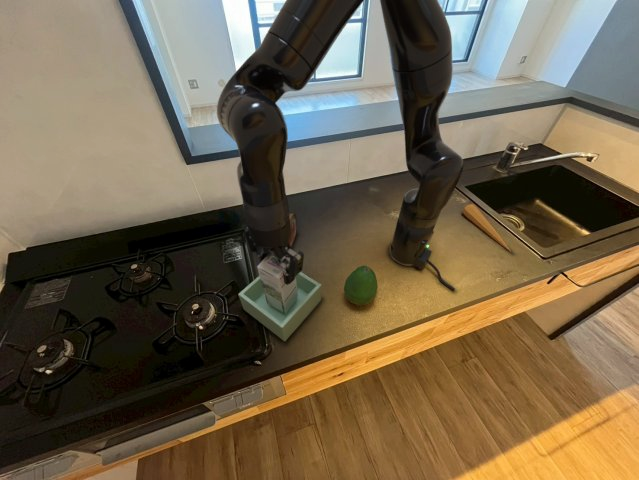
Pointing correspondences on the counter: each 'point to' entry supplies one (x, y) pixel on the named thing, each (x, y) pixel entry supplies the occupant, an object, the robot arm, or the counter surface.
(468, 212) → the carrot
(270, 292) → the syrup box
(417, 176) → the robot arm
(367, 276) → the avocado
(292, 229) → the tin
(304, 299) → the mint storage bin
